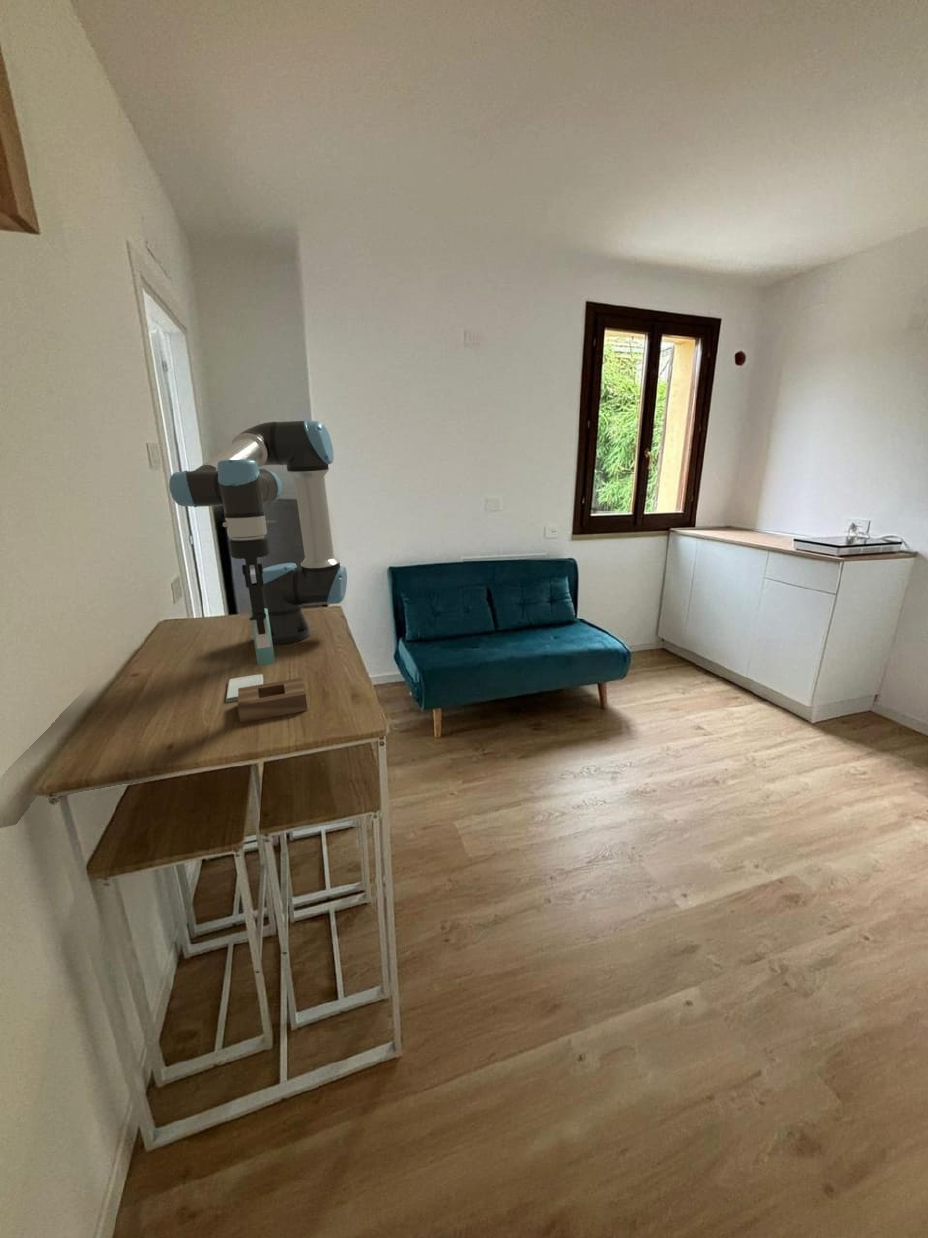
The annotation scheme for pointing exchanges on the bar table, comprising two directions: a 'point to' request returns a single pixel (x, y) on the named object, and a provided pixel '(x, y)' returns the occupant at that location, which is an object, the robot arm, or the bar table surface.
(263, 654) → the peg
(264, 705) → the socket block
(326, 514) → the robot arm
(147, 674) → the bar table surface
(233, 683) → the hard drive
